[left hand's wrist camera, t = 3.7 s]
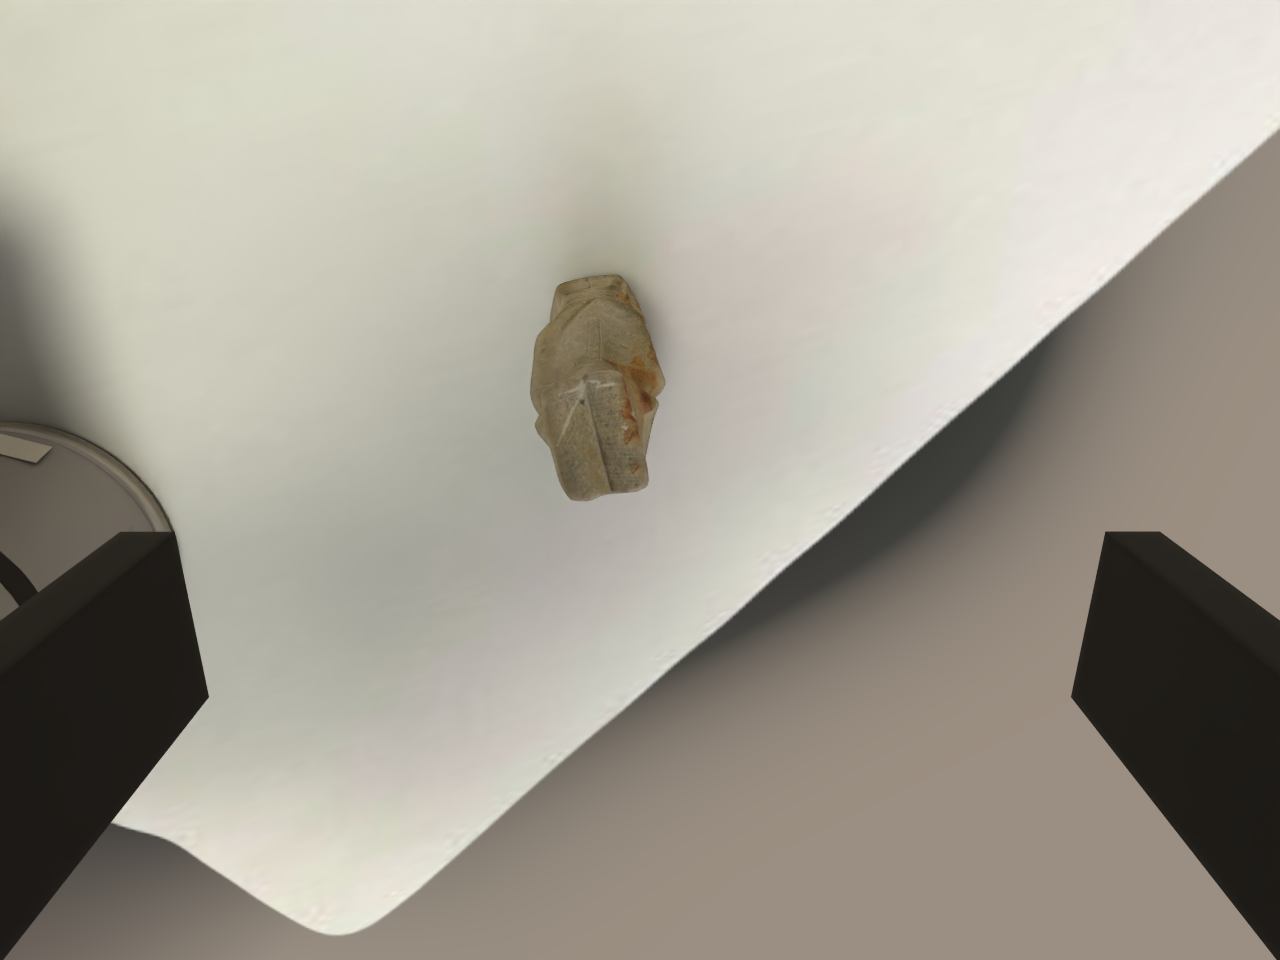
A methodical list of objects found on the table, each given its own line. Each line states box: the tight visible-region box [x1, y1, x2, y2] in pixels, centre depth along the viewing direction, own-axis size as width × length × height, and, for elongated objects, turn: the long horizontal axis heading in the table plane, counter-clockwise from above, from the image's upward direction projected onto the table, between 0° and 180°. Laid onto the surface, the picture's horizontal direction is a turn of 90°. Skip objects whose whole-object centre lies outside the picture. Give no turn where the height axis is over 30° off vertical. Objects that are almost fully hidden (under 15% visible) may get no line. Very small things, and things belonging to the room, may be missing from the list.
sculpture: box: [530, 275, 665, 501], centre depth 39 cm, size 6×7×15 cm
